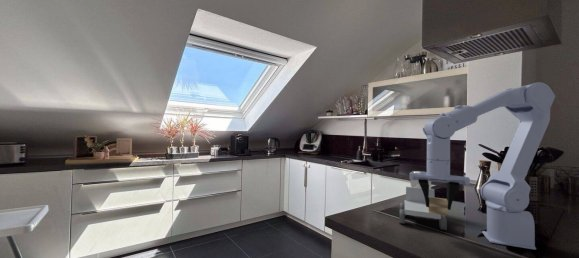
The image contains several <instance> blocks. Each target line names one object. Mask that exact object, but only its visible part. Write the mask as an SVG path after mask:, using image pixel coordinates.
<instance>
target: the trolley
mask: <svg viewBox="0 0 579 258" xmlns="http://www.w3.org/2000/svg"><path fill="white" fill-rule="evenodd" d="M429 197H434V198H435V189H434V188H431V189H429ZM403 201H404V202H399V224H402V225H405V223H406V220H405V219H406V216H407V215H409V216H414V217H422V218H429V219H435V220H436V221H438V224H439V230H442V231H447V229H448V222H447V221H448V220H447V216H446V215H439V214H432V213H429V211H428V209H427V207H426V202H425V197H424V194H423V191H422V189H421V188H415V187H411V186H405V199H404V200H403Z"/></svg>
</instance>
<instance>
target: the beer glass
mask: <svg viewBox="0 0 579 258" xmlns="http://www.w3.org/2000/svg"><path fill="white" fill-rule="evenodd" d="M410 173H427V171H424V170H423V171H421V170H412V171H410ZM428 182H429V189H432V181H428ZM410 187H415V188H421V186H420V184H419V182H418V180H410Z"/></svg>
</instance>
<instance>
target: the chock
mask: <svg viewBox="0 0 579 258" xmlns="http://www.w3.org/2000/svg"><path fill="white" fill-rule="evenodd" d="M427 209H428V211H429V213H432V214H439V215H446V217H447V216H449V210H448V200H447V198H440V197H435V196H434V197H429V207H427Z"/></svg>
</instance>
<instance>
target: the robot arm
mask: <svg viewBox="0 0 579 258" xmlns="http://www.w3.org/2000/svg"><path fill="white" fill-rule="evenodd" d="M555 98H556V95H555V93H554V91H552V89H551V87H550V86H549V85H548V84H546V83H544V82H542V81H540V82H539V81H538V82H533V83H531V84H527V85H522V86H518V87H517V86H516V87H514V88H512V87H510V88H507V89H505V90H502V91H498V92H496V93H494V94H492V95H490V96H488V97H487V98H485V99H483V100H481V101H479V102H477V103H475V104H473V105H467V104H464V105H461V104H459V105H456V106H454V107H453V108H454V109H452V110H450V111H448V112H445V113H444V112H442V113H439V115H438V118H437V117H436V118H430V119H428V120H427V121H426V123H425V124H424V127H422V132H423V134H424V135H425V137H426V172H427V173H411V172H409V180H410V181H411V180H418V182H419V184H420V186H421V189H422V191H423V194H424V197H425V202H426V207H429V182H428V181H431V183H432V182H434V183H445V184H446V199H447V200H448V211H449V210H451V209H452V204H453V201H454V199H455V198H456V195H457V194H458V192H459V191H460V188H461V186H460V185H465V186H470V185H471V183H470V182H471V181H470V180H471V178H470V177H469V176H459V175H453V174H451V137H453V136H454V134H455V133H456V132H457V131H460V130H462V129H464V128H467V127H468V126H470V125H472V124H474V123H476V122H477V120H478V117H479V116H481V115H485V114H486V113H489V112H491V111H493V110H496V109H498V108H503V107H504V108H505V109H506V110H507V111H508V112H510V113H511V115H513V116H514V117H515V118H516V119H518V120H519V122H520V123H519V125H518V127H517V130H516V131H515V134H514V136H513V137H512V138H513V139H512V140H511V143H510V145H509V147H508V149H507V152H506V154H505V157H504V159H503V161H502V164H501V166H500V169H499V170H498V171H497V172H495V173H493V174H492V175H490V176H489V177H488V180H487V181H486V182H485V183H483V184H482V186H481V187H480V196H481V198H482V199H483V200H484V201H485V205H486V231H485V230H482V231H481V233H482V234H483V235H484V237H485V238H486V240H488V241H489V243H492V244H498V245H504V246H508V247H509V246H511V247H516V248H523V249H528V250H533V251H534V250H537V247H536V245H535V244H536V243H535V242H536V240H535V239H536V238H535V236H536V235H535V234H536V233H535V232H536V230H535V220H534V216H533V214H532V213H531V212H530V211H528V210H527V211H526V209H527V208H528V206H529V204H530V193H531V188H532V187H531V186H530V185H529V184H528V183H527V181H526V180H525V179H526V177H527V174H528V172H529V170H530V167H531V165H532V163H533V161H534V158H535V156H536V153H537V151H538V149H539V146H540V145H541V142H542V140H543V138H544V135H545V133H546V130H547V128H548V126H549V124H550V121H551V108H552V105H553V103H554V101H555Z"/></svg>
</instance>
